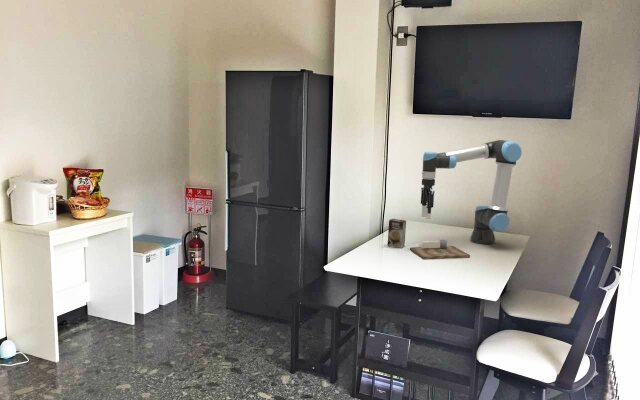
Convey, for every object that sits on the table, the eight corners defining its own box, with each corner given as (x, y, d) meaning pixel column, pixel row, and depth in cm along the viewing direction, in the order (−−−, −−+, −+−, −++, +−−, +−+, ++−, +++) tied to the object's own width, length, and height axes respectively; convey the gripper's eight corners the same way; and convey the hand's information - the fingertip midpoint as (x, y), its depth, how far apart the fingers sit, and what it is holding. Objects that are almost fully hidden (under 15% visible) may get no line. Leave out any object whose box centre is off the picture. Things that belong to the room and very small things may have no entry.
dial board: (453, 248, 322) (453, 245, 322) (469, 257, 303) (470, 254, 303) (409, 249, 316) (409, 246, 316) (423, 259, 297) (423, 256, 297)
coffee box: (387, 246, 323) (388, 220, 320) (390, 244, 329) (392, 218, 326) (401, 248, 319) (403, 221, 316) (405, 246, 324) (406, 220, 322)
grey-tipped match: (444, 246, 319) (445, 239, 318) (447, 248, 315) (448, 241, 314) (420, 247, 315) (421, 240, 315) (423, 249, 311) (424, 242, 310)
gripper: (416, 176, 321) (414, 214, 325) (429, 180, 304) (426, 221, 307) (428, 176, 323) (425, 214, 327) (441, 180, 305) (438, 220, 309)
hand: (426, 217), depth 317 cm, fingers open, 5 cm apart
